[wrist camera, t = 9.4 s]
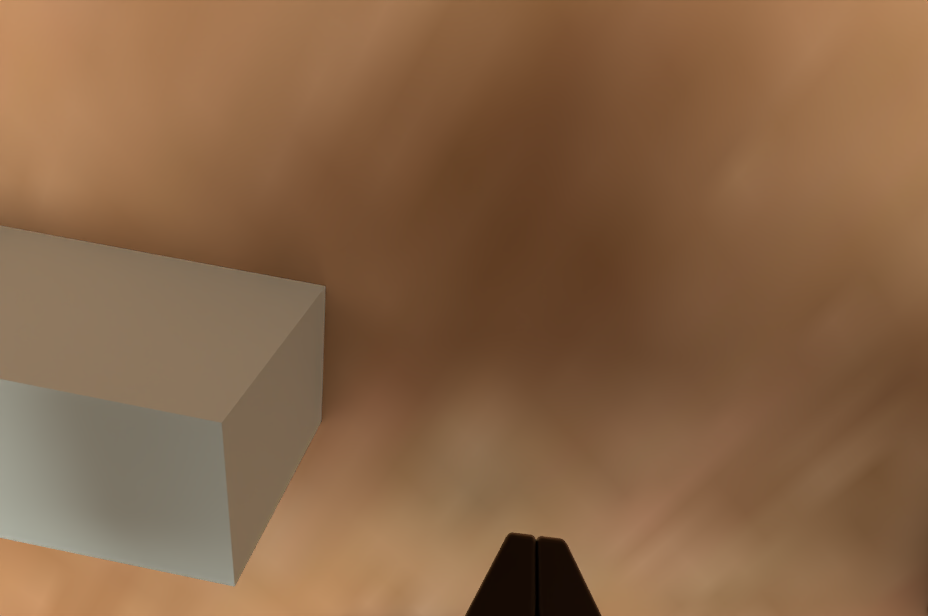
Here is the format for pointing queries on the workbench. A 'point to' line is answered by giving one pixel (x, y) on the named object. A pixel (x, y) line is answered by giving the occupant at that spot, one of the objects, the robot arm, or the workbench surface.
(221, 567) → the grey rectangular block
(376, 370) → the workbench surface
